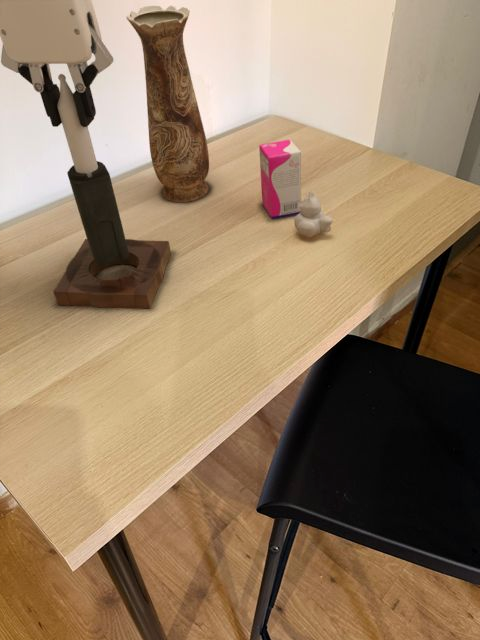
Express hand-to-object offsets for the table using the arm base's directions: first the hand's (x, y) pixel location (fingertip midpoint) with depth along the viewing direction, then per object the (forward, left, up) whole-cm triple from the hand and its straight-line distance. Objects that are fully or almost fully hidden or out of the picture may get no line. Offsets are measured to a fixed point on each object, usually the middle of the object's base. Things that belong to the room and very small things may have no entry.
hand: (73, 121), depth 66 cm
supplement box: (+24, +22, -24) cm, 41 cm away
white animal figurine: (+30, +14, -24) cm, 41 cm away
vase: (+5, +28, -24) cm, 37 cm away
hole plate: (0, 0, -24) cm, 24 cm away
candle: (0, 0, -20) cm, 20 cm away
